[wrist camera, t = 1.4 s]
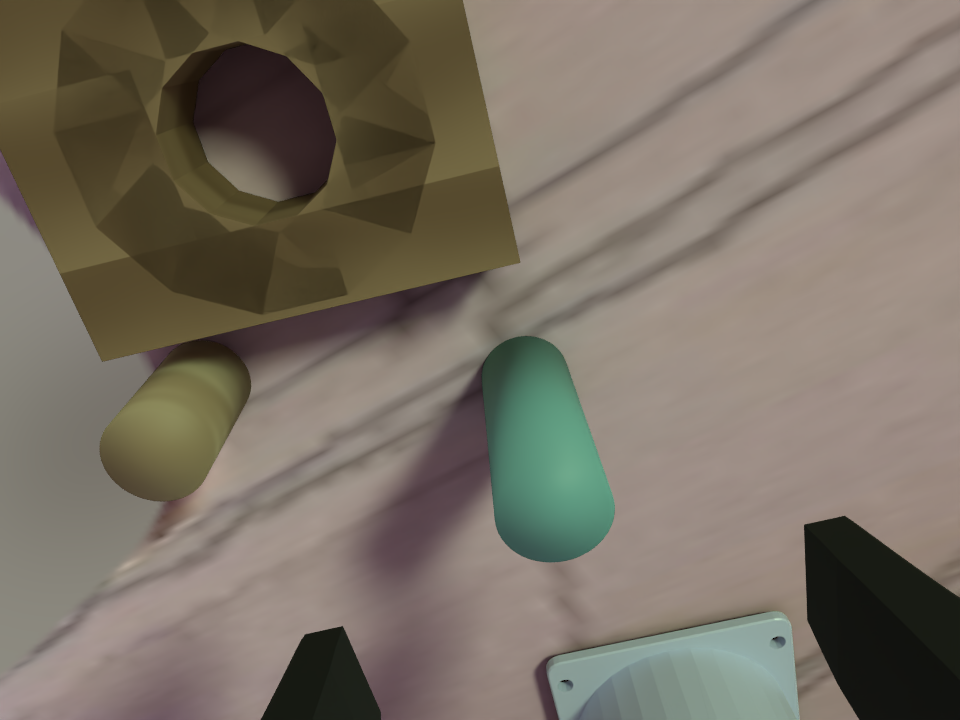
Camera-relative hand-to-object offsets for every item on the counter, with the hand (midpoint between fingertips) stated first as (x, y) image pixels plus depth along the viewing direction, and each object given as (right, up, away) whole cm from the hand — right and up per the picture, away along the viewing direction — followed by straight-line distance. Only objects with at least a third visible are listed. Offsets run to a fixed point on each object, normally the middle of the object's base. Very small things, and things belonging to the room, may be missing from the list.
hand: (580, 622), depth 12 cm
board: (-6, +10, +6) cm, 13 cm away
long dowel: (0, +4, +9) cm, 10 cm away
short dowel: (-9, +3, +9) cm, 13 cm away
